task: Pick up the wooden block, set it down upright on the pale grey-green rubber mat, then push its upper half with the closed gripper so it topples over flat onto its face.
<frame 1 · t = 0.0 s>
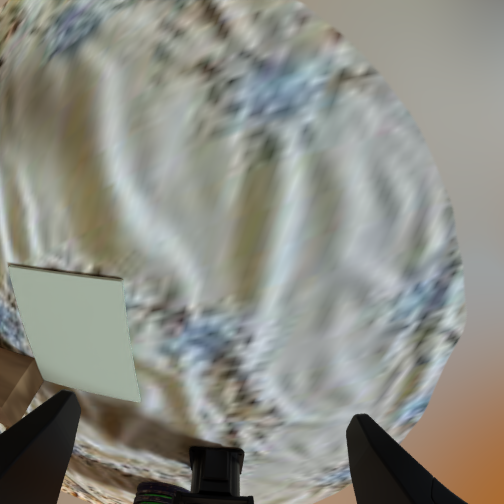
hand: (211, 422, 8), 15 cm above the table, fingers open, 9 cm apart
mat: (73, 338, 25), on the table
wooden block: (17, 363, 27), on the table
storage jar: (166, 492, 38), on the table
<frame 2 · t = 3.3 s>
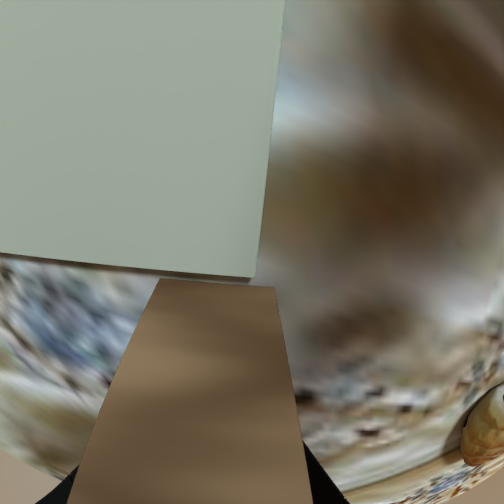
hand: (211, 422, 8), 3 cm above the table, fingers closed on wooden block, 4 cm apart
mat: (44, 70, 7), on the table
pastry: (494, 405, 14), on the table
wooden block: (212, 368, 11), on the table, touching gripper
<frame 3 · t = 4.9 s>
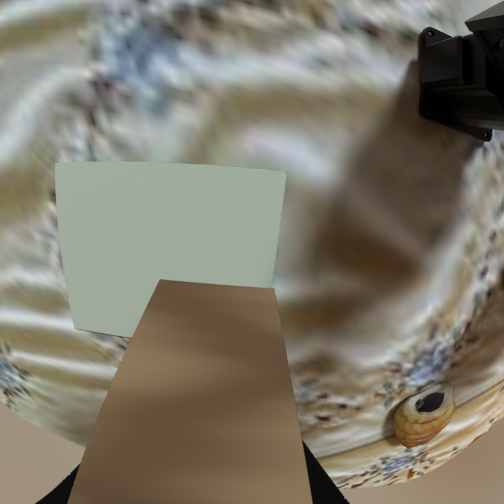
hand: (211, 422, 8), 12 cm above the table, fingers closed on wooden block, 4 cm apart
mat: (159, 260, 19), on the table
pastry: (419, 407, 27), on the table
wooden block: (212, 368, 11), point 9 cm above the table, touching gripper
when the fingers open (3 cm above the table, at t = 6.6 s): wooden block stays where it is, resting on mat.
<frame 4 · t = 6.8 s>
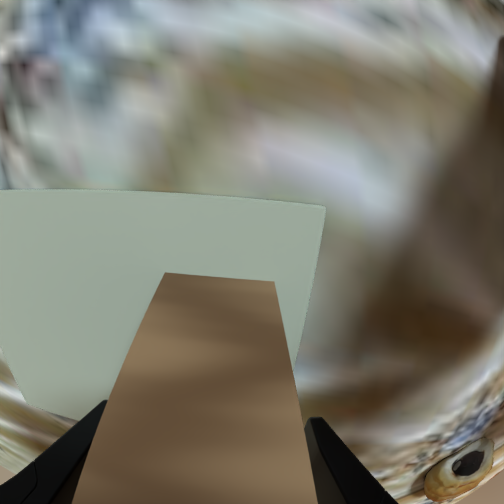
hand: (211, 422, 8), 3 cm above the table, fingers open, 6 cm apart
mat: (117, 341, 11), on the table
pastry: (452, 461, 19), on the table
wooden block: (214, 360, 11), resting on mat
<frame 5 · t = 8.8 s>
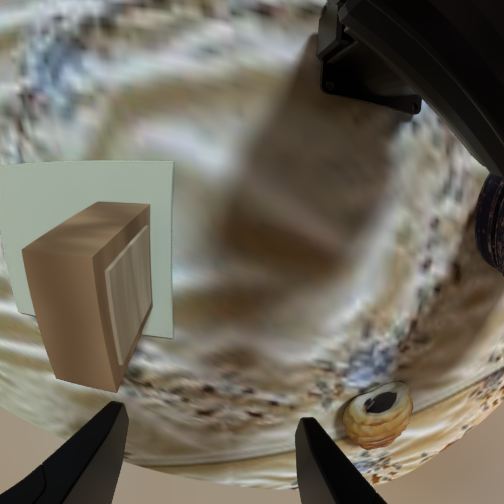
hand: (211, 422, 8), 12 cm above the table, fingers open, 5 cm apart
mat: (75, 249, 19), on the table
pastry: (375, 407, 26), on the table
wooden block: (124, 256, 19), resting on mat
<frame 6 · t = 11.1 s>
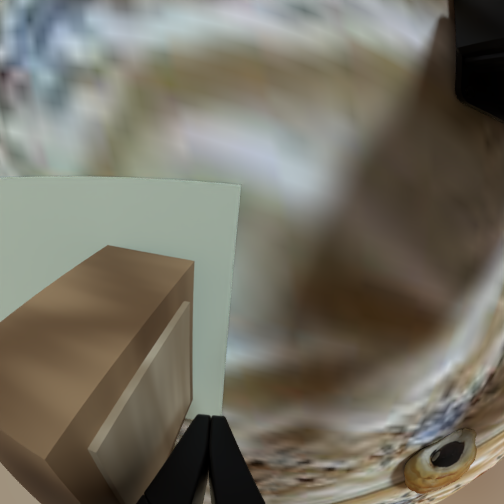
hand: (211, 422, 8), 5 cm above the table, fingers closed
mat: (75, 310, 12), on the table
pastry: (435, 452, 20), on the table
wooden block: (151, 332, 12), point 1 cm above the table, tilted 10°, touching mat
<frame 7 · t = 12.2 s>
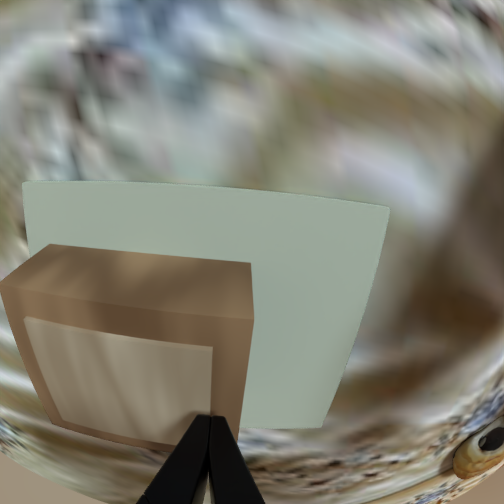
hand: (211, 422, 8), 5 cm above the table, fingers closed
mat: (188, 331, 13), on the table
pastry: (477, 440, 20), on the table
wooden block: (241, 371, 11), point 2 cm above the table, tilted 90°, touching mat
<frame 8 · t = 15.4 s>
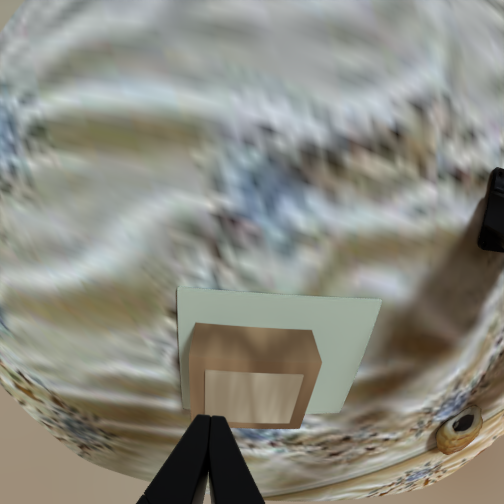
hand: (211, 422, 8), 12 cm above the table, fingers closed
mat: (272, 362, 23), on the table
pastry: (455, 424, 30), on the table
wooden block: (305, 382, 21), point 2 cm above the table, tilted 90°, touching mat
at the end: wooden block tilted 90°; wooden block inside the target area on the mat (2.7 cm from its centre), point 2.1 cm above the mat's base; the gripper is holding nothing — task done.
